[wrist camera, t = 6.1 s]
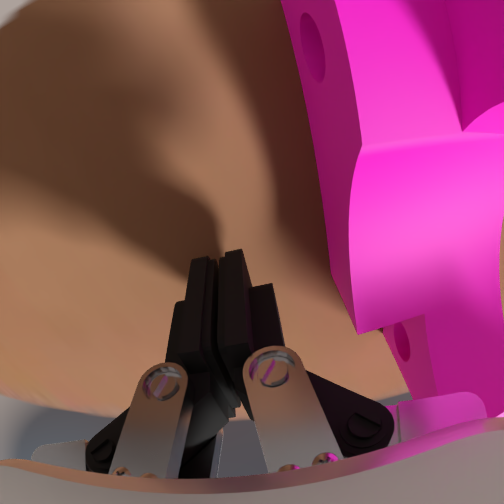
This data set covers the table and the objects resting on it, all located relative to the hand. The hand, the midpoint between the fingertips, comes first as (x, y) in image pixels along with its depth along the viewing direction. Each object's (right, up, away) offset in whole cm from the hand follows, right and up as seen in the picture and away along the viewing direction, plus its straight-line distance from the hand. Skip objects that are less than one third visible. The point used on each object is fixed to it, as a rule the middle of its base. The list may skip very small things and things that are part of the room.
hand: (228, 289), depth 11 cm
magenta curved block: (+6, +4, 0) cm, 7 cm away
